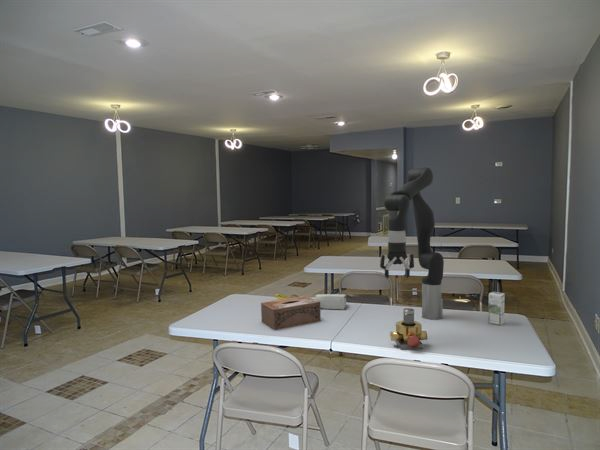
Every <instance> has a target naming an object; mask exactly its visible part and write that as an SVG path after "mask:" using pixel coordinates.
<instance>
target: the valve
mask: <svg viewBox="0 0 600 450" xmlns="http://www.w3.org/2000/svg"><path fill="white" fill-rule="evenodd" d="M403 322H404V319H401V320H399V321H396V323H395V331H390V334H389V335H390V341H393V342H395V344H396V345H397V346H398V347H399V349H400V351H401V350H403V351H404V350H424V343H423V342H421V341H427V340H428V332H427V331H426V330H422V327H423V325H422V324H421V322H419V321H415V320H414V326H404V325H403Z"/></svg>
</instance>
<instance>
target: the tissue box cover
mask: <svg viewBox="0 0 600 450" xmlns="http://www.w3.org/2000/svg"><path fill="white" fill-rule="evenodd" d="M260 305H261V307H260V308H261V309H260V311H261V312H260V313H261V323H262V324H264V325H266V326H267V327H269V328H270V329H272V330H273V331H276V330H281V329H286V328H291V327H297V326H301V325H306V324H307V325H308V324H311V323H315V322H316V323H317V322H321V319H322V318H321V308H320V301H317V300H315V299H313V298H310V296H308V295H301V296H298V297H294V298H290V297H289V298H288V299H282V300H280V299H276V300H270V301H265V302H261V303H260Z"/></svg>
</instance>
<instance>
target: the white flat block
mask: <svg viewBox="0 0 600 450" xmlns="http://www.w3.org/2000/svg"><path fill="white" fill-rule="evenodd" d="M309 297H310V296H309ZM310 298H313V299H315V300H317V301H320V309H324V310H346V307H347V300H348V299H347V294H342V293H341V294H338V293H337V294H336V293H331V294H329V293H326V294H325V293H322V294H319V293H318V294H316V295H315V297H312V296H311V297H310Z"/></svg>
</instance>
